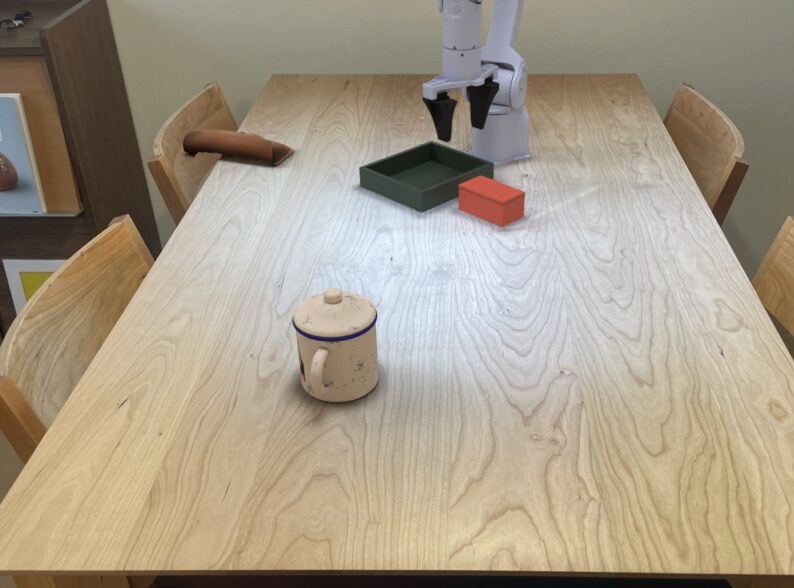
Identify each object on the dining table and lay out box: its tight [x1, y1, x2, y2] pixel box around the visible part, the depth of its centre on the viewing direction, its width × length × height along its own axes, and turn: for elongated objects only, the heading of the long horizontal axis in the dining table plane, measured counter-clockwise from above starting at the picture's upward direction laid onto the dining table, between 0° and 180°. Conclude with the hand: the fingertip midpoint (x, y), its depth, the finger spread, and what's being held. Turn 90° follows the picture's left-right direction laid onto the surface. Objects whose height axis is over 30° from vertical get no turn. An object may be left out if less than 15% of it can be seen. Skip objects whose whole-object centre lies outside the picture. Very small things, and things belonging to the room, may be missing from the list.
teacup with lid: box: [291, 287, 380, 403], centre depth 95 cm, size 12×9×12 cm
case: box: [458, 175, 526, 228], centre depth 133 cm, size 5×9×4 cm, turn 46°
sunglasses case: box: [182, 128, 294, 166], centre depth 154 cm, size 18×7×7 cm
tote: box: [358, 140, 495, 213], centre depth 143 cm, size 16×14×4 cm
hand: (461, 134), depth 137 cm, fingers open, 7 cm apart
